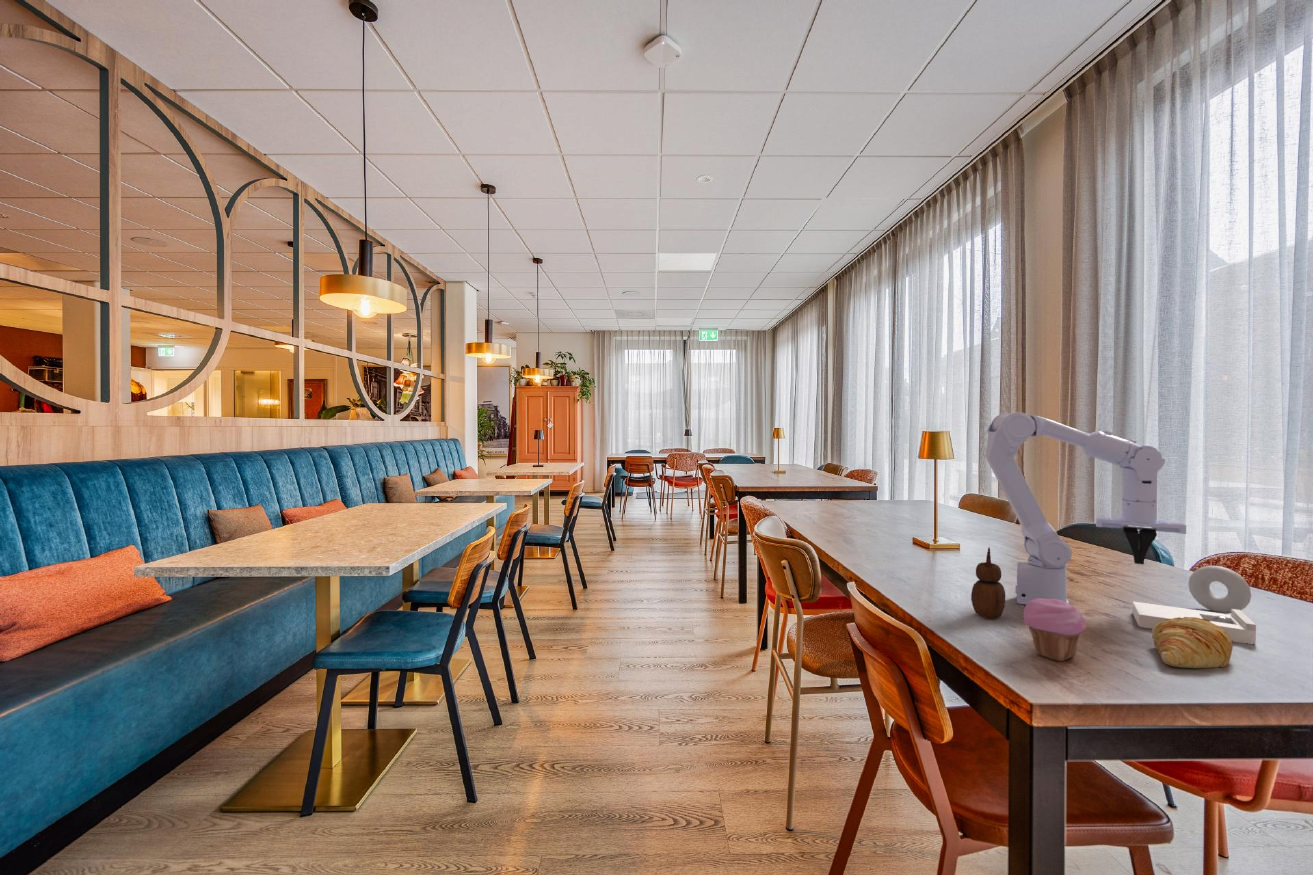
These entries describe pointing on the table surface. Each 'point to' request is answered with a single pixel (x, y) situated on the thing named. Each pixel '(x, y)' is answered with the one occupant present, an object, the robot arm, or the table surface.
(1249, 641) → the board
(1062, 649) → the cupcake
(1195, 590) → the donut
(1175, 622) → the croissant
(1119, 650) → the table surface
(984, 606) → the wooden figurine
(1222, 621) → the ball
